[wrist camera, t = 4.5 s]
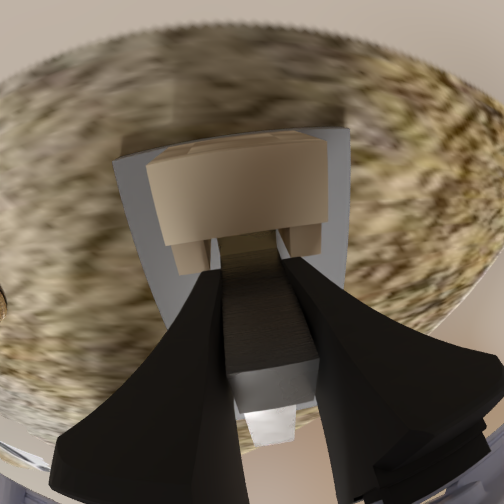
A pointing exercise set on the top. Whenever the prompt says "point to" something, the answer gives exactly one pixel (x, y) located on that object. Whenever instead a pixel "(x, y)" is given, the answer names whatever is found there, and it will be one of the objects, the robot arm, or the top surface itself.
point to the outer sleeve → (272, 425)
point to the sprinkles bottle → (2, 308)
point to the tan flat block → (263, 327)
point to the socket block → (240, 193)
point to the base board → (162, 259)
